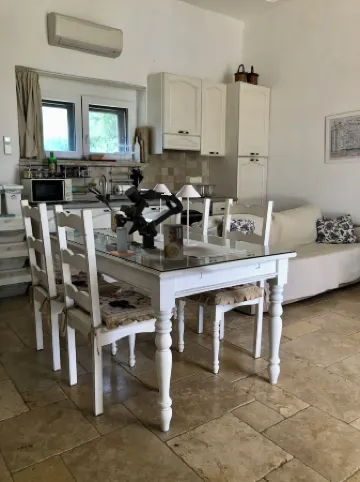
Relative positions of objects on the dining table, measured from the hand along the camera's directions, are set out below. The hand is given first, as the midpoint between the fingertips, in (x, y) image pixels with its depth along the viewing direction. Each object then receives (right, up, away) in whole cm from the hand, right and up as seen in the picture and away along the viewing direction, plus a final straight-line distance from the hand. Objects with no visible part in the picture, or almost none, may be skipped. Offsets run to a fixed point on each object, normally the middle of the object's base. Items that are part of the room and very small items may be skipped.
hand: (122, 233), depth 201 cm
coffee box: (+25, -12, -10) cm, 30 cm away
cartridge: (0, -9, +2) cm, 9 cm away
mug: (-3, -4, +34) cm, 34 cm away
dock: (-2, -9, +6) cm, 11 cm away
